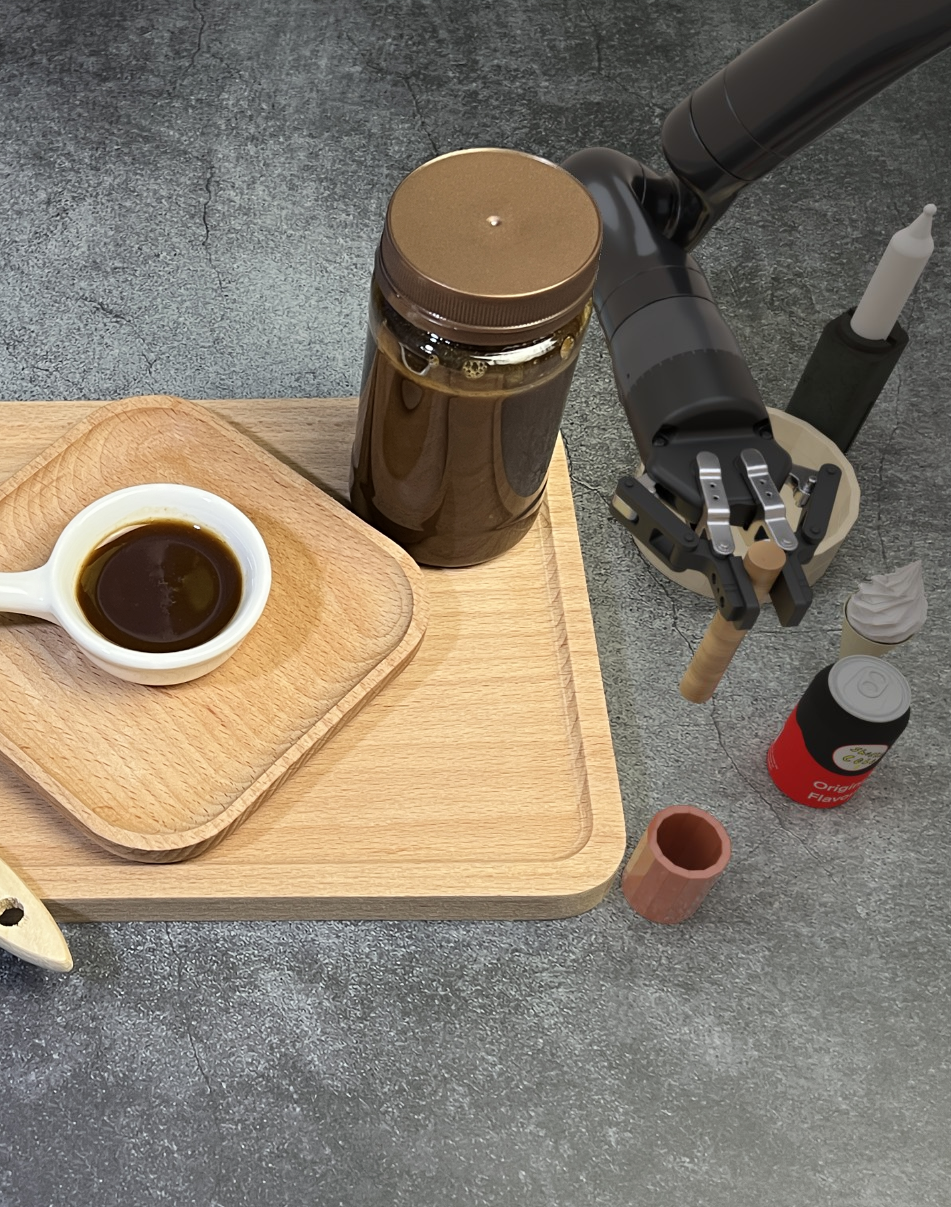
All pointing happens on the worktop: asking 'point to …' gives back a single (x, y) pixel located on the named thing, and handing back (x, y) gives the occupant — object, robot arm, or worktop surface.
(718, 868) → the utensil cup
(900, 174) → the worktop surface
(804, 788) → the beverage can
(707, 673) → the stirring stick
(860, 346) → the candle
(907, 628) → the ice cream cone
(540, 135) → the worktop surface
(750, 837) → the worktop surface
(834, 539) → the bowl
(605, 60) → the worktop surface
